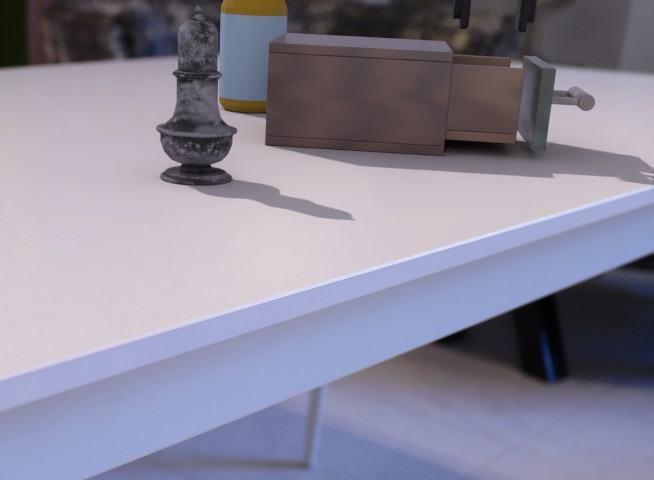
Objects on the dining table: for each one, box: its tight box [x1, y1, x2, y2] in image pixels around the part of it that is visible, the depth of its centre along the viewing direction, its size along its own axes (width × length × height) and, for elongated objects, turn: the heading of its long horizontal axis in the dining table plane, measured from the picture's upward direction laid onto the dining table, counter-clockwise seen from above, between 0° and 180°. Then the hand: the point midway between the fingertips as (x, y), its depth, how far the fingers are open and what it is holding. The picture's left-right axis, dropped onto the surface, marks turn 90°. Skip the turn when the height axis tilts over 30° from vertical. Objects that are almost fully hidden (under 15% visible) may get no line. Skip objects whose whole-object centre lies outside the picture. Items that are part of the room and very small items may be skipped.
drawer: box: [445, 54, 596, 151], centre depth 96 cm, size 19×13×7 cm
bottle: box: [218, 0, 288, 114], centre depth 112 cm, size 7×7×15 cm
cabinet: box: [264, 32, 455, 157], centre depth 97 cm, size 16×15×9 cm
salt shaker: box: [155, 4, 238, 186], centre depth 75 cm, size 6×6×12 cm
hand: (491, 27), depth 95 cm, fingers open, 4 cm apart
